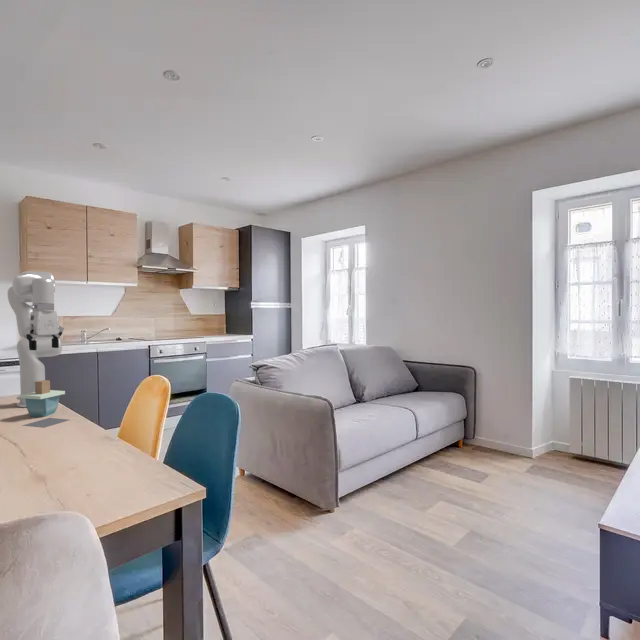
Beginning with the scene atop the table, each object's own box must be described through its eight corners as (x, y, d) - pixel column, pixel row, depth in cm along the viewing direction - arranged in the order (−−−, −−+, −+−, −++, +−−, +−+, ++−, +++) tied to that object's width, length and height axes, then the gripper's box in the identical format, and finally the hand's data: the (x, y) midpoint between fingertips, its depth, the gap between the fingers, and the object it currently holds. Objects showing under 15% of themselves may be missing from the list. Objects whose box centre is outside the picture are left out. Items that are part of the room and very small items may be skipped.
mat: (22, 428, 152) (22, 425, 152) (49, 420, 163) (49, 417, 163) (44, 430, 149) (44, 427, 149) (70, 422, 159) (70, 419, 159)
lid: (19, 397, 164) (19, 382, 163) (45, 392, 174) (44, 378, 174) (40, 399, 160) (40, 383, 160) (65, 393, 171) (64, 379, 171)
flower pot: (46, 420, 163) (45, 398, 163) (24, 420, 163) (24, 398, 163) (60, 414, 172) (60, 393, 171) (40, 414, 172) (39, 393, 172)
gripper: (29, 308, 158) (30, 351, 159) (69, 307, 175) (69, 347, 176) (15, 308, 161) (16, 350, 161) (56, 307, 177) (56, 346, 178)
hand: (44, 348), depth 168 cm, fingers open, 9 cm apart
